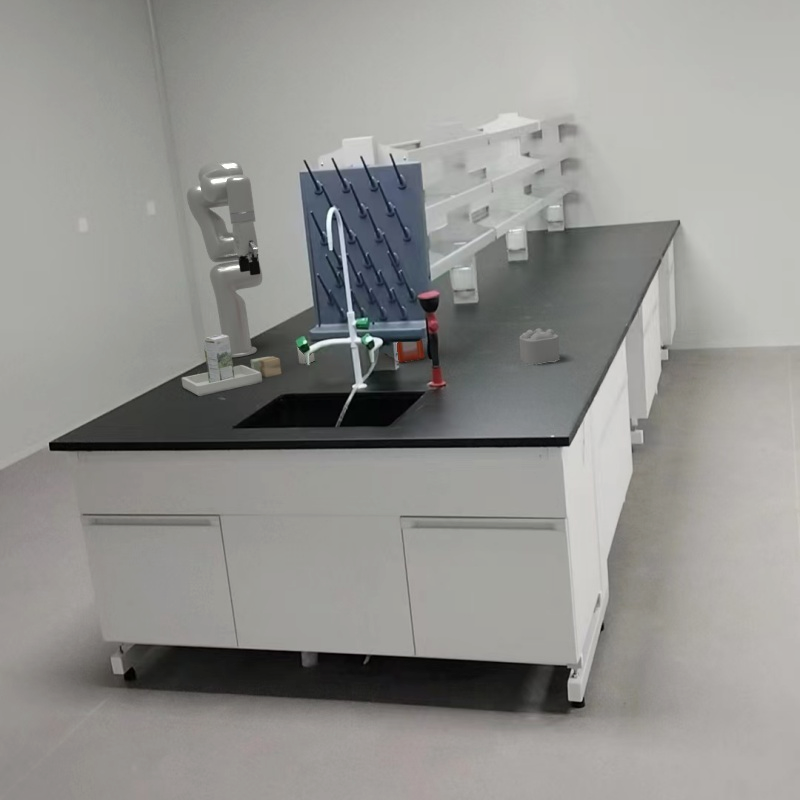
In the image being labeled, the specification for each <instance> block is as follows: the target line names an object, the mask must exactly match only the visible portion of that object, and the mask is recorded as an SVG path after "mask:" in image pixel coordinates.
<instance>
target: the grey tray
mask: <svg viewBox="0 0 800 800" xmlns="http://www.w3.org/2000/svg"><path fill="white" fill-rule="evenodd" d="M233 370H234V377H235V378H231V379H226V380H221V381H217V382H212V383H209V378H208V371H207V372H202V373H197V374H193V375H188V376H182V377H181V383H182V388H184V389H185V390H187V391H189V392H191V393H192V394H194V395H197V396H198V397H202V396H206V395H211V394H216V393H220V392H224V391H229V390H233V389H238V388H243V387H248V386H251V385H257V384H260V383H261V384H262V383H263V375H261V372H258V371H256V370H254V369H252V367H248V366H246V365H244V364H239V365H235V366H233Z"/></svg>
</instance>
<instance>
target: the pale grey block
mask: <svg viewBox="0 0 800 800" xmlns="http://www.w3.org/2000/svg"><path fill="white" fill-rule="evenodd" d="M296 348H297V355H298V363H299V364H301V365H307V364H306V362H305V355H304V354H303V353H302V352H301V351H300V350H299V348H298V347H297V346H296ZM313 361H315V362H316V360H315V352H314V353H312V354H311V355H310V363H309V364H312V363H311V362H313ZM313 363H314V362H313Z"/></svg>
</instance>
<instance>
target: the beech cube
mask: <svg viewBox="0 0 800 800" xmlns="http://www.w3.org/2000/svg"><path fill="white" fill-rule="evenodd" d="M267 357H268V356H267ZM262 358H263V357H262ZM258 360H259V366H260V372H261V375H262V377H265V378H269V377H270V378H271V377H274V376H278V375H282V366H281V360H280V357H279V358H278V357H276V356H273V355H272V356H269V357H268V358H263V359H258Z"/></svg>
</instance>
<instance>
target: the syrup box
mask: <svg viewBox="0 0 800 800" xmlns="http://www.w3.org/2000/svg"><path fill="white" fill-rule="evenodd" d="M202 342H203V343H202V344H203V349H204V350H203V351H204V355H205V356H204V357H205V364H206V369H207V370H206V371H207V372H208V378H209V383H212V382H217V381H221V380H226V379H231V378H235V377H234V370H233V367H234V364H233V358H232V355H231V348H230V340H229V336H227V335H222V333H220V334H215V335H211V336H208V337H204V338H202Z"/></svg>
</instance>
